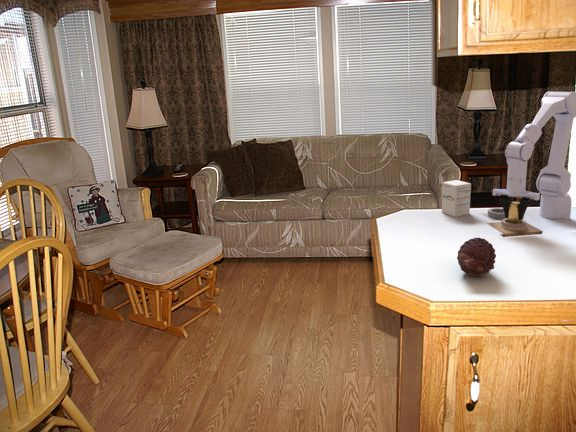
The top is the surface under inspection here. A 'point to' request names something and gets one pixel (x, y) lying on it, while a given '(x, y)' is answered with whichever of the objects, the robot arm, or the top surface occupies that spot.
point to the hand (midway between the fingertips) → (514, 218)
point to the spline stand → (495, 214)
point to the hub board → (516, 233)
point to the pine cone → (476, 257)
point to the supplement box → (456, 198)
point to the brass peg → (513, 212)
